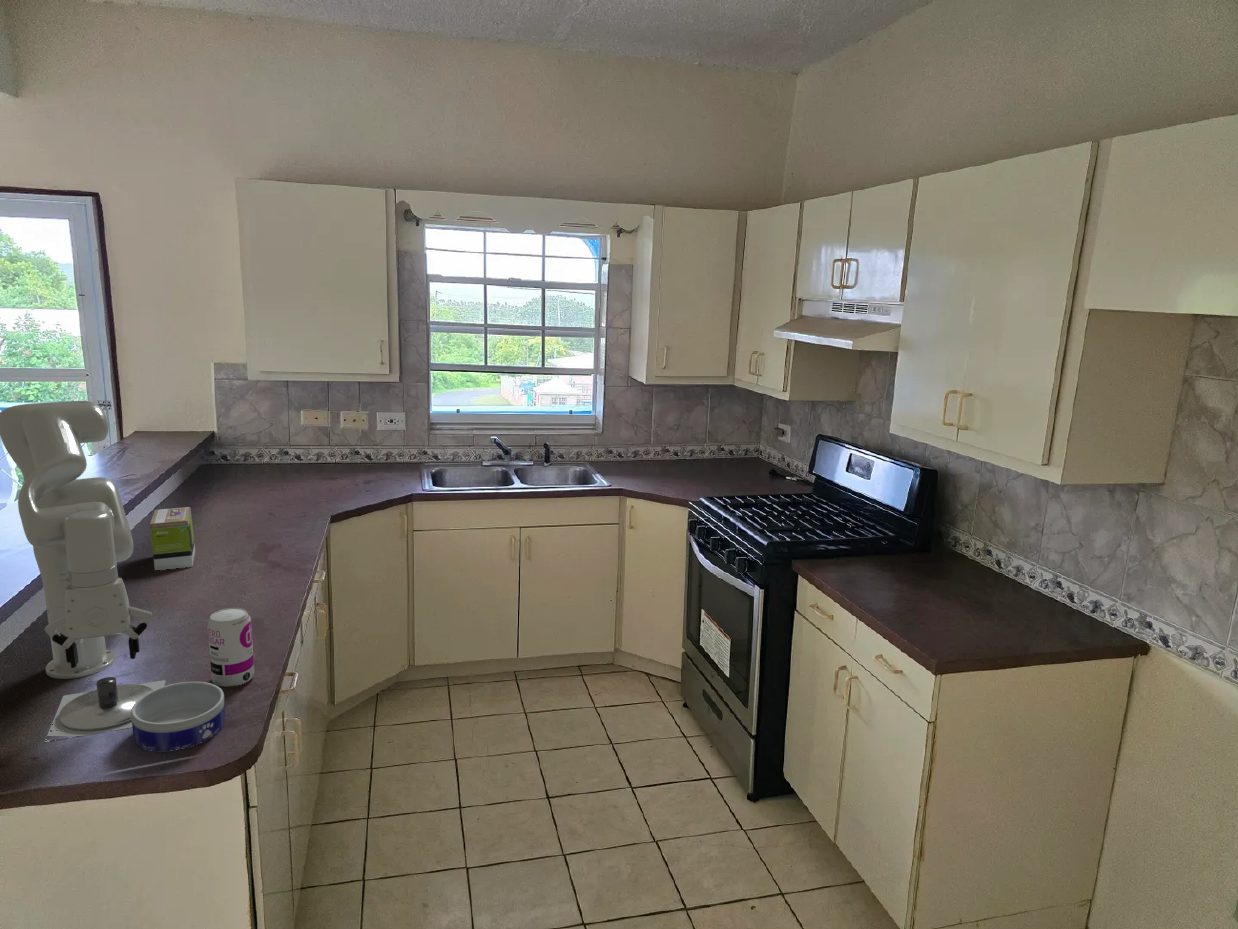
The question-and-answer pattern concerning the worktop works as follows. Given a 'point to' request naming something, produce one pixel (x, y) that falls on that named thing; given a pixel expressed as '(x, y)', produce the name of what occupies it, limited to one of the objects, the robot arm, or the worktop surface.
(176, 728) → the dog bowl
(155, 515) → the tea box
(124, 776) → the worktop surface
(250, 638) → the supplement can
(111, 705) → the lid
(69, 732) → the mat
